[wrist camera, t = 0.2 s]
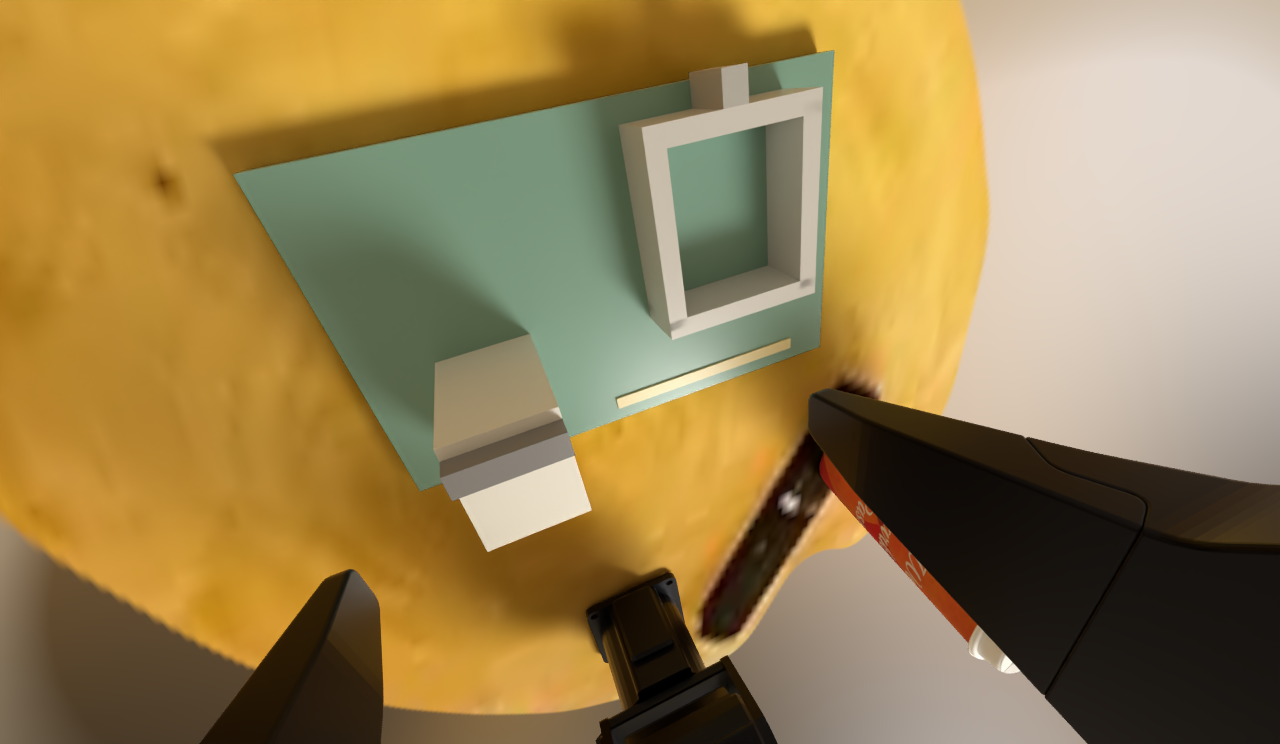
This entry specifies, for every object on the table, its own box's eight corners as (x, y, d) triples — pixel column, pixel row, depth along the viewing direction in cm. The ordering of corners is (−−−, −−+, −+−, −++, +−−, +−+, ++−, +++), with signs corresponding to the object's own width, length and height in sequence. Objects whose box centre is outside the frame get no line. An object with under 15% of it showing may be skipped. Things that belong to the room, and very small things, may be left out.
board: (808, 339, 27) (851, 366, 25) (420, 477, 23) (418, 530, 20) (818, 45, 20) (882, 35, 17) (239, 162, 15) (192, 175, 12)
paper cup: (816, 421, 31) (1034, 604, 20) (906, 398, 33) (1149, 551, 22) (797, 507, 35) (970, 703, 24) (879, 482, 37) (1073, 649, 26)
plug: (559, 423, 23) (597, 525, 17) (477, 452, 22) (489, 569, 17) (529, 333, 20) (563, 420, 15) (435, 362, 19) (432, 466, 14)
